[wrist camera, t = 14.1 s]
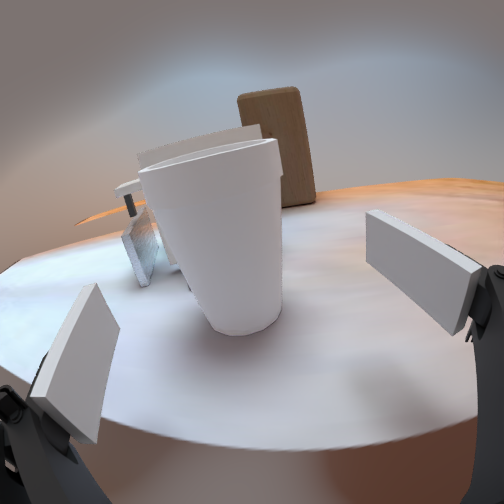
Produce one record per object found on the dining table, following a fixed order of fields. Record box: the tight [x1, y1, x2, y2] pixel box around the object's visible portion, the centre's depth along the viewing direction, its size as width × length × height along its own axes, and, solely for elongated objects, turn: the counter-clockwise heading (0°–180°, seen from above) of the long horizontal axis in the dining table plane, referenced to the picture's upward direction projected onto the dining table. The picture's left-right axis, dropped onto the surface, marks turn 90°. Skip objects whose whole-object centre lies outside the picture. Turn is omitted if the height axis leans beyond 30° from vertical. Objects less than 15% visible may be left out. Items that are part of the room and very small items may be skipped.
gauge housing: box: [121, 207, 191, 290], centre depth 33 cm, size 18×17×12 cm
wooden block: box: [237, 87, 316, 207], centre depth 45 cm, size 10×10×20 cm
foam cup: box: [138, 138, 283, 336], centre depth 20 cm, size 10×9×13 cm
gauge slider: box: [114, 124, 262, 265], centre depth 30 cm, size 6×17×13 cm, turn 102°
